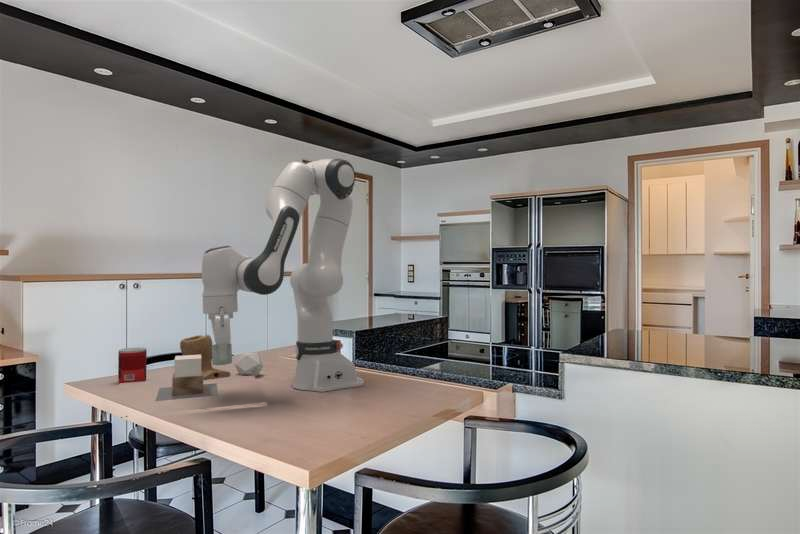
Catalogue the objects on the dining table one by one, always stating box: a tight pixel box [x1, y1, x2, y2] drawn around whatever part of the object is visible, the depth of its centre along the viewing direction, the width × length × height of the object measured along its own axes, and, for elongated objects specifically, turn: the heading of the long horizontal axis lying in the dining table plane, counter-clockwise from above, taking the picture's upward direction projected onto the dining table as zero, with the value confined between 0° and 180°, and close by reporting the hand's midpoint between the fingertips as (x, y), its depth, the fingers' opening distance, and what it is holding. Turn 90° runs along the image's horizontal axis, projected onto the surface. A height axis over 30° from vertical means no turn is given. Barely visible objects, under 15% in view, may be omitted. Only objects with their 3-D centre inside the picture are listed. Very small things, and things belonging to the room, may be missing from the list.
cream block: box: [173, 355, 201, 378], centre depth 140 cm, size 7×7×5 cm
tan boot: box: [179, 334, 231, 381], centre depth 161 cm, size 15×12×15 cm
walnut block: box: [171, 371, 204, 396], centre depth 140 cm, size 8×8×5 cm
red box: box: [117, 346, 148, 385], centre depth 157 cm, size 8×8×11 cm
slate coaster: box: [154, 382, 219, 402], centre depth 140 cm, size 16×16×1 cm
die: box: [234, 352, 264, 378], centre depth 166 cm, size 8×9×10 cm
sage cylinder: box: [211, 343, 233, 366], centre depth 130 cm, size 5×5×5 cm
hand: (222, 357), depth 130 cm, fingers closed on sage cylinder, 5 cm apart
